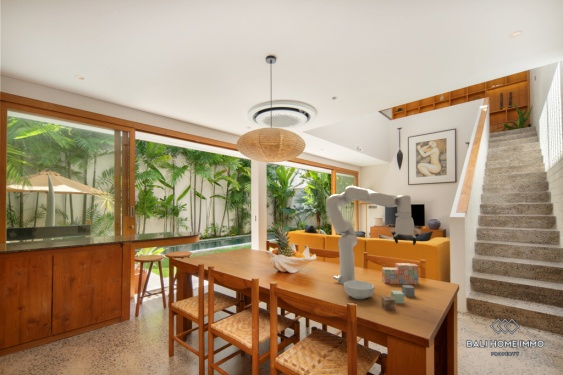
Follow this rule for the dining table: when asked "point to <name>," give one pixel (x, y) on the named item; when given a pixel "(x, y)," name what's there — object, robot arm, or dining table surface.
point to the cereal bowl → (358, 289)
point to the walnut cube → (388, 303)
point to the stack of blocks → (401, 274)
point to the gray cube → (408, 290)
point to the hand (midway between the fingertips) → (405, 243)
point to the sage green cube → (397, 296)
